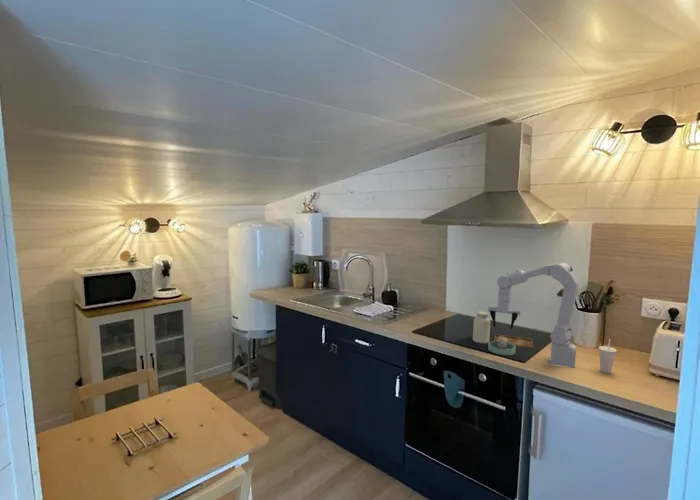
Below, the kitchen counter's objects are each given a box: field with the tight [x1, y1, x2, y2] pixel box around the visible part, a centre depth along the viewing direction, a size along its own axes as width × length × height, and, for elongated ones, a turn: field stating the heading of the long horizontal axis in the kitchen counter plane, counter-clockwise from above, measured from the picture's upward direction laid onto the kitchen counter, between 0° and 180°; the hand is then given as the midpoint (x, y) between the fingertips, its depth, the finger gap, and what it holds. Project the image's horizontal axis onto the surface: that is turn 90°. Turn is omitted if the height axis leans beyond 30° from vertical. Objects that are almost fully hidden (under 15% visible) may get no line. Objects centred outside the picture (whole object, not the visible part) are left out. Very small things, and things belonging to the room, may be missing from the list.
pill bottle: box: [472, 310, 491, 344], centre depth 197 cm, size 8×8×15 cm
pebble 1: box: [498, 336, 507, 342], centre depth 187 cm, size 4×4×5 cm
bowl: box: [487, 340, 517, 356], centre depth 185 cm, size 12×12×3 cm
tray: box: [493, 333, 534, 349], centre depth 196 cm, size 18×12×2 cm, turn 68°
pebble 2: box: [497, 340, 507, 349], centre depth 182 cm, size 4×4×5 cm
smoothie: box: [598, 338, 618, 374], centre depth 163 cm, size 6×6×14 cm
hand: (502, 327), depth 189 cm, fingers open, 7 cm apart
